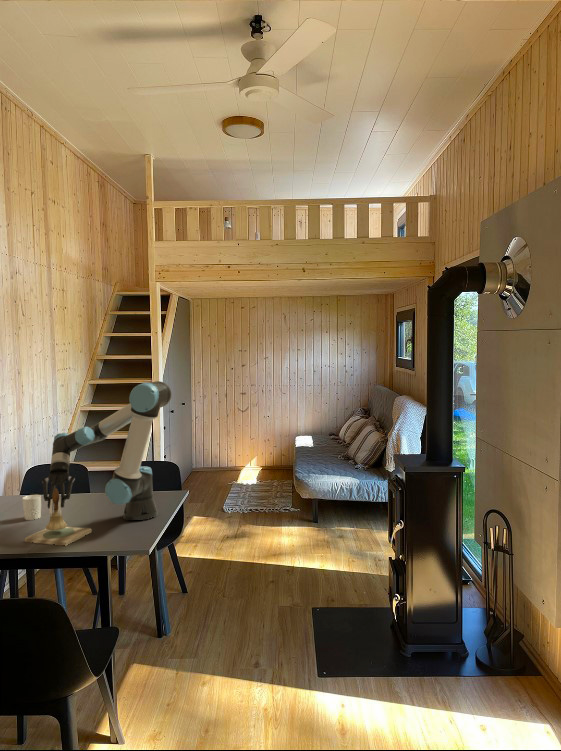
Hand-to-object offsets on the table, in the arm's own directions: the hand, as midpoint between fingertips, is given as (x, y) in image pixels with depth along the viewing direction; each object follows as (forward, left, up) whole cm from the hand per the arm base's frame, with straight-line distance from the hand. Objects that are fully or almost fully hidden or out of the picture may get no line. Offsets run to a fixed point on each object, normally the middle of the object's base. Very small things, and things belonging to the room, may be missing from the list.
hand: (54, 514), depth 221 cm
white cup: (+31, -22, -11) cm, 40 cm away
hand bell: (+2, -3, -7) cm, 8 cm away
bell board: (+1, -3, -11) cm, 11 cm away
